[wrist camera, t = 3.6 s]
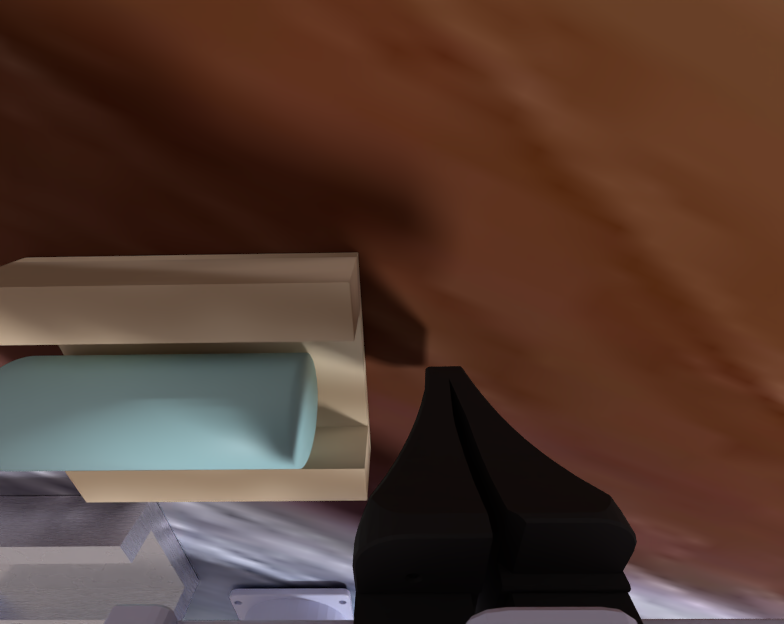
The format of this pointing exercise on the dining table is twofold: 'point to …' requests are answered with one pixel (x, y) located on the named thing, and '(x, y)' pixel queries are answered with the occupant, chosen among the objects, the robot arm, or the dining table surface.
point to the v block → (87, 560)
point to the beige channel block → (210, 350)
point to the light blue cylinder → (157, 412)
